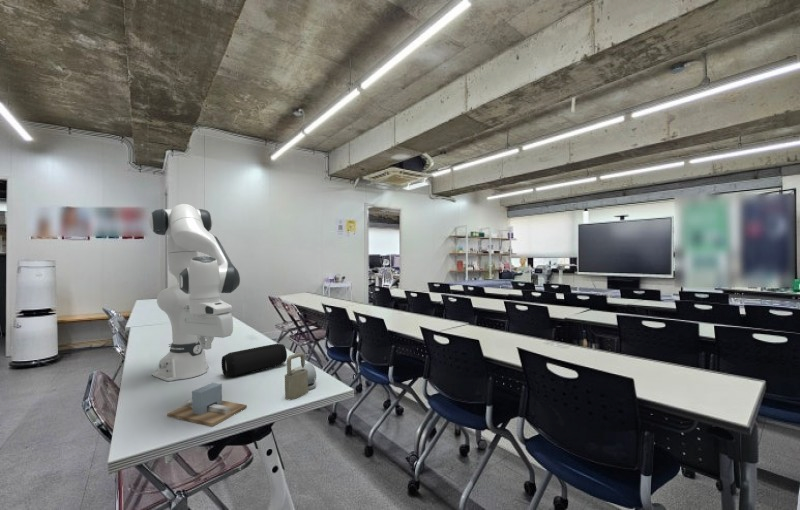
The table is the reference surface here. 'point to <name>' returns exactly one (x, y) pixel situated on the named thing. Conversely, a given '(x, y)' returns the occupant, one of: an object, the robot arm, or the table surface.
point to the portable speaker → (253, 359)
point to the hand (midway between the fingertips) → (205, 348)
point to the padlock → (296, 379)
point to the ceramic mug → (309, 374)
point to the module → (206, 397)
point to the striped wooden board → (211, 417)
